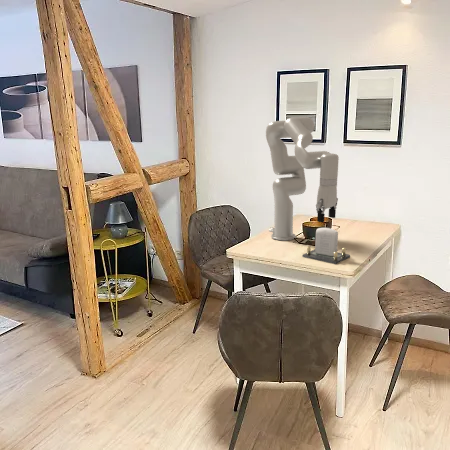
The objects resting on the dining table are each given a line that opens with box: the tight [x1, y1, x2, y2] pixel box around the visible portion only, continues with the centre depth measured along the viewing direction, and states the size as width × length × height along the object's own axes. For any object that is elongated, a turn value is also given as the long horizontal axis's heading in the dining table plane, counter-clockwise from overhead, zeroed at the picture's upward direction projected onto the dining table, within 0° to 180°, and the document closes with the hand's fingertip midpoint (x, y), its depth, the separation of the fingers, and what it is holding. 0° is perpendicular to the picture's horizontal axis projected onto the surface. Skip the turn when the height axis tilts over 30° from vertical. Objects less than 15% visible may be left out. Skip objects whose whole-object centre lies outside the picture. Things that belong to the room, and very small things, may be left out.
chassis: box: [302, 245, 351, 265], centre depth 214 cm, size 17×13×4 cm
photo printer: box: [314, 227, 339, 256], centre depth 213 cm, size 10×4×12 cm, turn 55°
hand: (326, 219), depth 211 cm, fingers open, 9 cm apart
